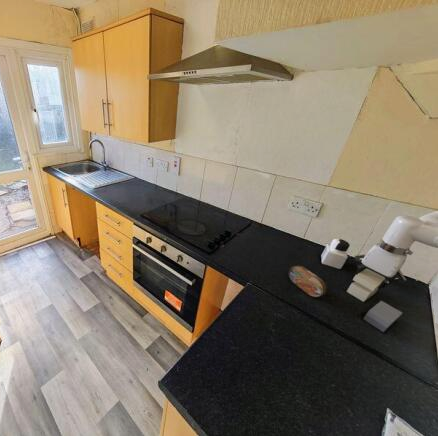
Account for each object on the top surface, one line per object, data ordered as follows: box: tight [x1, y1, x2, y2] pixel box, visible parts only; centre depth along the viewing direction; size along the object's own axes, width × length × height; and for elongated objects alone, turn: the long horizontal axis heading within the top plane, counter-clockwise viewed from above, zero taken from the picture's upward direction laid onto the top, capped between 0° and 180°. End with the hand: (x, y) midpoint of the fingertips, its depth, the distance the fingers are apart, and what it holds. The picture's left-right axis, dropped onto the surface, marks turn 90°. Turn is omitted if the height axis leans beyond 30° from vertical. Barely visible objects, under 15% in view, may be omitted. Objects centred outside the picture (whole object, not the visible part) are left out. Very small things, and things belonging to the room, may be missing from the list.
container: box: [320, 238, 351, 270], centre depth 111 cm, size 8×8×13 cm
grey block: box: [362, 300, 403, 333], centre depth 84 cm, size 6×10×5 cm, turn 118°
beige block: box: [346, 281, 379, 303], centre depth 96 cm, size 6×10×5 cm, turn 118°
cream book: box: [352, 268, 385, 291], centre depth 93 cm, size 7×10×2 cm
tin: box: [288, 265, 327, 298], centre depth 96 cm, size 15×3×8 cm, turn 21°
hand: (368, 281), depth 94 cm, fingers closed on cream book, 7 cm apart
